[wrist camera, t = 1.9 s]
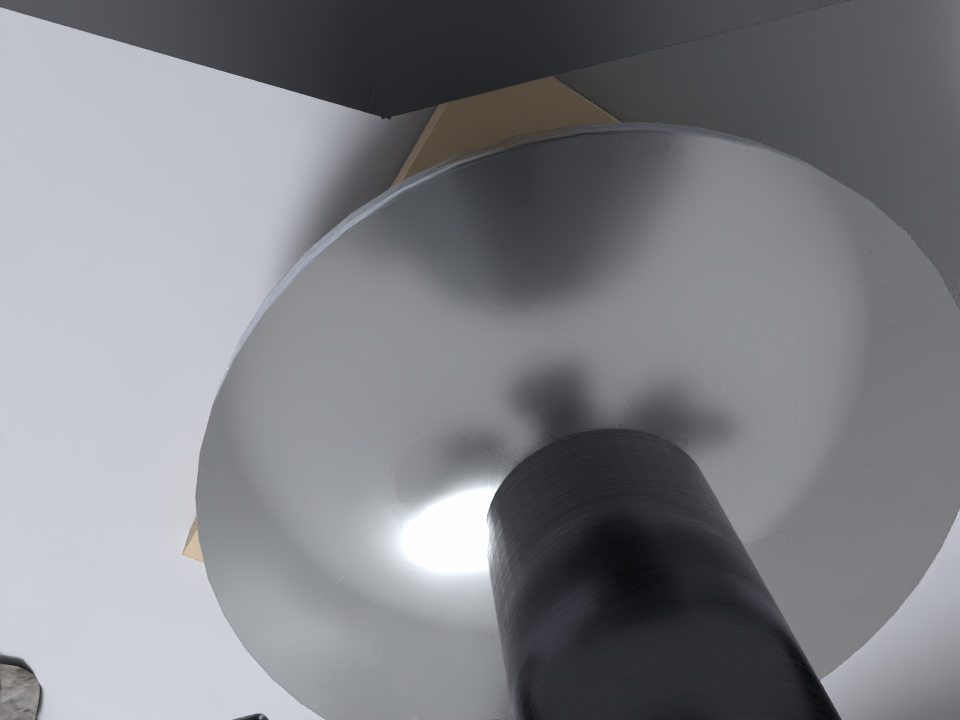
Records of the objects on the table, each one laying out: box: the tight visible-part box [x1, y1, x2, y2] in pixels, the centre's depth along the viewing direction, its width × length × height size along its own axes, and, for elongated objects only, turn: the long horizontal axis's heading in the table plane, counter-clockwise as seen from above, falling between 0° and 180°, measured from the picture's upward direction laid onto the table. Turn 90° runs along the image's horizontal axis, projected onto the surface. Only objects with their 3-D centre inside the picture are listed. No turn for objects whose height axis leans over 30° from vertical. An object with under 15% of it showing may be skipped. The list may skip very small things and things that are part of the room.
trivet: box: [182, 76, 621, 562], centre depth 13 cm, size 9×9×1 cm
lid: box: [196, 121, 960, 720], centre depth 10 cm, size 11×11×6 cm
